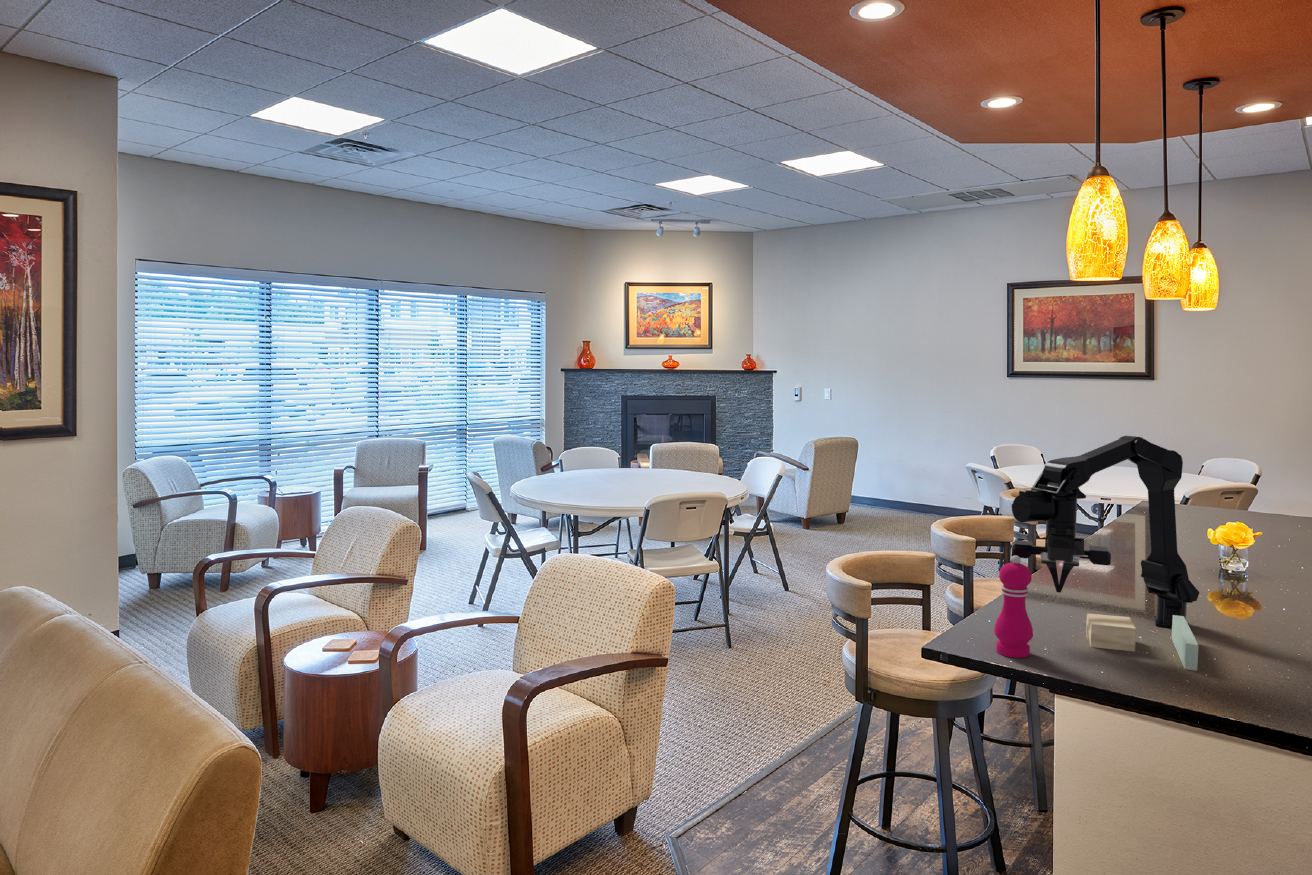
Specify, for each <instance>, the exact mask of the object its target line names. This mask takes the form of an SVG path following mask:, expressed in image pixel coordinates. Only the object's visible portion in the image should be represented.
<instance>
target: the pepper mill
mask: <svg viewBox="0 0 1312 875" xmlns="http://www.w3.org/2000/svg"><path fill="white" fill-rule="evenodd" d="M1021 559H1022V558H1020V557H1019V556H1016V555H1015V556H1012V555H1011V558H1010V561H1011V562H1007V563H1005V564H1003V565H1002V566H1001V567H1000V569H999V572H998V573H999V574H998V577H999V580H1000V582H1001V583H1002V584H1003V585H1002V586H1001V591H1000V593H1001V594H1002V595H1003V603H1002V608H1001V611H1000V613H999V615H998V617H997V618H996V621H995V624H994V627H993V631H994V635H995V637H996V638H997V639H998V641H996V644H995V650H996V653H997V654H998V655H1002V656H1005V657H1009V658H1014V659H1015V658H1016V659H1017V658H1018V659H1021V658H1027V657H1029V656H1030V654H1031V653H1030V651H1031V646H1030V645H1029V642H1030V641H1032V639H1033V636H1034V628H1033V625H1032V622H1031V620H1030V618H1029V615H1028V613H1027V607H1026V600H1027V597H1028V596H1029V588H1028V586H1029V585H1030V583H1032V580H1033V579H1032V572H1031V570H1030V568H1029V567H1028V566H1026V565H1025V564H1023V563H1021Z"/></svg>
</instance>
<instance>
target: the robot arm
mask: <svg viewBox="0 0 1312 875" xmlns="http://www.w3.org/2000/svg"><path fill="white" fill-rule="evenodd" d="M1127 460H1128V461H1130V462H1131V463H1133V464H1134V465H1136V468H1137V471H1138V476H1139V478H1140V480H1141V481H1142V483H1143V484H1144V486H1145V487H1146V489H1147V500H1148V518H1149V532H1150V533H1149V534H1150V535H1149V536H1150V553H1149V555H1148V556H1147V558H1146V559H1142V560H1141V561H1140V567H1141V574H1140V577H1141V578H1143V582H1144V584H1145V585H1146V590H1147V593H1149V594H1153V595H1156V612H1155V613H1156V614H1155V615H1152V620H1153V623H1154V625H1155V626H1157V627H1165V628H1166V627H1168V628H1172V620H1173V615H1177V616H1184V618H1185V620H1186V621H1187V608H1188V604H1191V603H1194V602H1197V601H1198V598H1199V595H1200V591H1199V590H1198V589H1197V588H1196V586H1195V585H1194V584H1193V583H1192V582H1191V580H1190V578H1189V573H1188V567H1187V564H1186V563H1185V562H1184V560H1183V559H1182V557H1181V556H1180V554H1179V551H1178V537H1177V522H1176V520H1177V519H1176V503H1175V502H1176V500H1175V498H1176V497H1175V489H1176V487H1177V486H1178V484H1179V482H1180V480H1182V474H1183V465H1184V463H1183V462H1184V461H1183V457H1182V455H1181V454H1179V452H1177V451H1175V450H1171V449H1167V448H1165V447H1162V446H1161V445H1157V444H1155V443H1153V442H1150V441H1148V439H1145V438H1143V437H1141V436H1133V435H1123V436H1120V437H1119V438H1117V440H1114V441H1112V442H1109V443H1107V444H1104V445H1102V446H1100V447H1098V448H1094V449H1092V450H1090V451H1088V452H1085V453H1083V454H1080V455H1076V456H1067V457H1060V458H1055V459H1051V460H1049V461H1047V462H1045V464H1044V467H1043V469H1042V472H1040V474H1039V475H1038V477H1037V479H1036V480H1035V482H1034V484H1033V485H1032V487H1031V488H1030V490H1029V489H1019V492H1018V495H1017V496H1016V497H1015V498H1014V499H1013V503H1011V512H1012V515H1013V517H1014V520H1016V521H1017V522H1018V523H1021V524H1023V523H1035V522H1036V523H1037V522H1045V541H1044V542H1045V544H1044V546H1043V545H1042V546H1039V545H1033V541H1032V540H1019V539H1015V540H1014V541H1013V542H1012V543H1011V544H1012V545H1011V557H1012V556H1015V555H1016V556H1019V557H1020V559H1028V558H1030V557H1031V556H1032V555H1034V556H1035V555H1036V556H1040V564H1042V565H1043V564H1045V565H1046V567H1047V569H1048V571H1049V573H1050V575H1051V578H1052V582H1053V584H1054V587H1055V591H1056V593H1062V591H1063V589H1064V586H1065V582H1066V581H1067V578H1068V576H1069V574H1070V573H1071V571H1072V570H1073V568H1074V567H1080V560H1081V559H1082V560H1083V559H1084V560H1089V561H1090V563H1091V564H1093V565H1099V566H1111V565H1112V562H1111V561H1112V560H1111V559H1112V554H1111V550H1110V549H1109V548H1108V547H1106V546H1095V545H1089V546H1088V549H1085V537H1084V538H1083V537H1082V538H1081V537H1076V536H1077V516H1078V515H1077V512H1078V500H1081V499H1082V500H1083V499H1087V495H1086V494H1085V493H1084V492H1082V491H1081V490H1080V487H1082V486H1083V485H1085V484H1086V483H1089V481H1090V479H1091V477H1092V476H1093V475H1094V474H1096V473H1099V472H1101V471H1104V470H1106V469H1108V468H1110V467H1112V466H1116V465H1117V464H1120V463H1123V462H1124V461H1127ZM1057 561H1061V562H1062V564H1061V571H1060V576H1059V572H1058V563H1057ZM1189 627H1190V625H1189Z"/></svg>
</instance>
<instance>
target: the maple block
mask: <svg viewBox="0 0 1312 875" xmlns="http://www.w3.org/2000/svg"><path fill="white" fill-rule="evenodd" d="M1085 625H1086V627H1085V628H1086V629H1085V630H1086V631H1085V636H1086V639H1087V641H1088V643H1089V646H1090V648H1098V649H1106V650H1107V649H1108V650H1117V651H1126V652H1136V640H1137V637H1136V636H1137V628H1136V625H1135V624H1134V623H1133V620H1132V619H1131V617H1129V616H1121V615H1120V616H1119V615H1108V614H1107V615H1106V614H1097V613H1086V623H1085Z"/></svg>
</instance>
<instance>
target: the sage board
mask: <svg viewBox="0 0 1312 875" xmlns="http://www.w3.org/2000/svg"><path fill="white" fill-rule="evenodd" d="M1189 626H1190V625H1189V622H1188V620H1187V619H1186V620H1185V618H1184V616H1177V615H1173V620H1172V627H1171V640H1172V642H1173V645H1174V646H1175V649H1176V652H1177V654H1178V657H1179V659H1180V661H1181V664H1182V666H1183V668H1184V670H1189V671H1196V672H1197V671H1198V663H1199V662H1198V660H1199V643H1198V642H1197V639H1196V638H1195V635H1194V633H1193V632H1192V630H1191V628H1190V627H1189Z"/></svg>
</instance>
